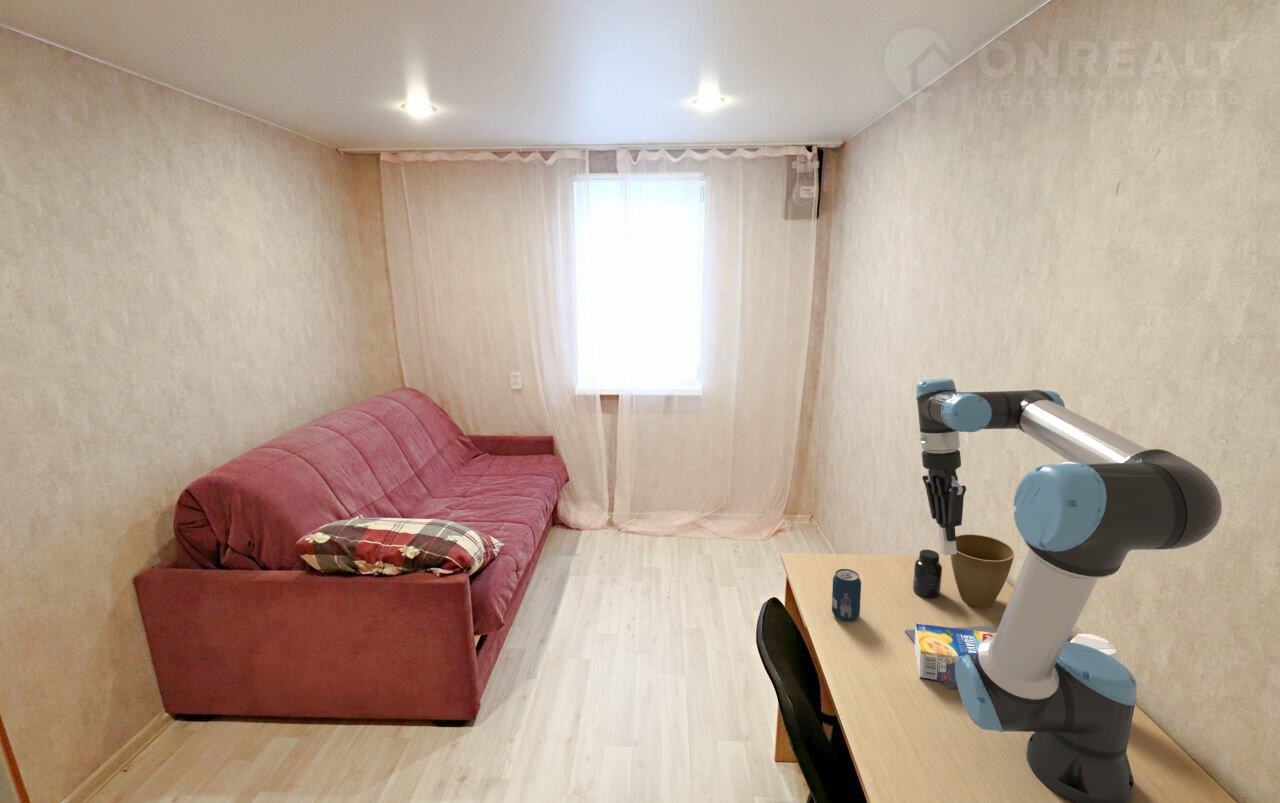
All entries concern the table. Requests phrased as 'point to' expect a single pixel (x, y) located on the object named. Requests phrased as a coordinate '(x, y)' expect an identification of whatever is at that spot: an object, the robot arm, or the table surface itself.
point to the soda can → (846, 595)
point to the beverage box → (944, 650)
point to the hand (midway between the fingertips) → (948, 553)
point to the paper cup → (1096, 644)
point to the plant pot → (981, 568)
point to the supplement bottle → (927, 574)
